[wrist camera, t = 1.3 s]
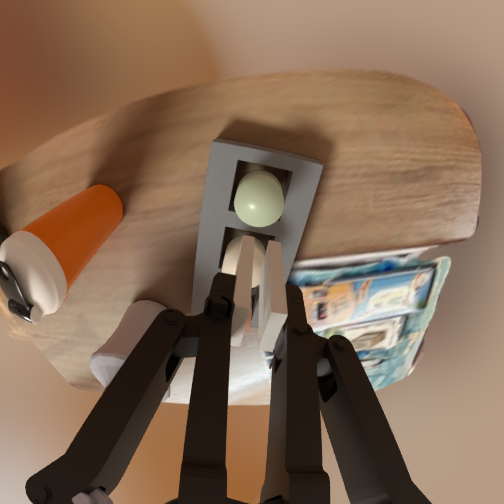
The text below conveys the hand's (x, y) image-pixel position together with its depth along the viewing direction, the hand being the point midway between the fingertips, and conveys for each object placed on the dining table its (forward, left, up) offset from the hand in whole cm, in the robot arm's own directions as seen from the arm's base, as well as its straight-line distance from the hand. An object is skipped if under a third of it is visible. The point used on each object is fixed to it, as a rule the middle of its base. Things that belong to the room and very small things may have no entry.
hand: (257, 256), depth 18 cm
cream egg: (0, -8, -13) cm, 16 cm away
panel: (0, -8, -16) cm, 18 cm away
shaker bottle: (-21, -7, -17) cm, 28 cm away
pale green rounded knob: (0, 0, -13) cm, 13 cm away
